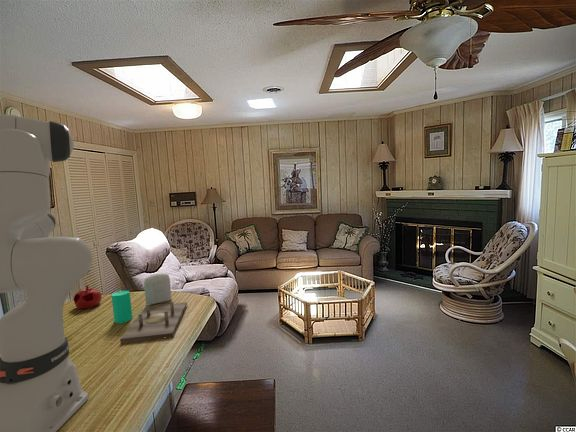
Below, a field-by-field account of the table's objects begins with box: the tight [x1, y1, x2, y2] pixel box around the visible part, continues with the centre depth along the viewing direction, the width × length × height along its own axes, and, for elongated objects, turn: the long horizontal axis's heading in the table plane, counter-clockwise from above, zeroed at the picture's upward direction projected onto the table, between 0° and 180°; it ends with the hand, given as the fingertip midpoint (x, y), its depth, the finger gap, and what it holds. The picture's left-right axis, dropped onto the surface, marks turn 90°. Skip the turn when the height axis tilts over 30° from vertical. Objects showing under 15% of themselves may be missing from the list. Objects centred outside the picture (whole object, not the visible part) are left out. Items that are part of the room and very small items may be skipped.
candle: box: [111, 289, 133, 324], centre depth 112 cm, size 6×6×12 cm
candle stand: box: [119, 301, 188, 344], centre depth 109 cm, size 26×16×6 cm, turn 9°
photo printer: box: [143, 273, 172, 306], centre depth 128 cm, size 10×4×12 cm, turn 123°
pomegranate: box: [72, 284, 102, 310], centre depth 128 cm, size 10×10×9 cm
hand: (82, 276), depth 110 cm, fingers open, 8 cm apart
